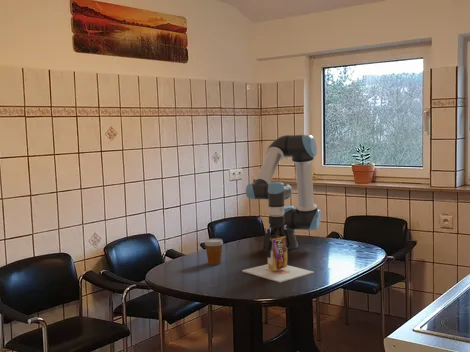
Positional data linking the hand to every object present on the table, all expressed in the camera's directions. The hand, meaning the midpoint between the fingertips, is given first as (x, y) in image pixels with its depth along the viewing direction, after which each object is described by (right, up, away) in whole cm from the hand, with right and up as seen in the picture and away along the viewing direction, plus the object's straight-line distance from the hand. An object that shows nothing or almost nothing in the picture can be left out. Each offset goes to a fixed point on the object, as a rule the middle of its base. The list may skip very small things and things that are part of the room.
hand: (277, 262), depth 260 cm
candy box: (0, -3, 0) cm, 3 cm away
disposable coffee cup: (-31, -4, +20) cm, 37 cm away
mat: (0, -5, 0) cm, 5 cm away
